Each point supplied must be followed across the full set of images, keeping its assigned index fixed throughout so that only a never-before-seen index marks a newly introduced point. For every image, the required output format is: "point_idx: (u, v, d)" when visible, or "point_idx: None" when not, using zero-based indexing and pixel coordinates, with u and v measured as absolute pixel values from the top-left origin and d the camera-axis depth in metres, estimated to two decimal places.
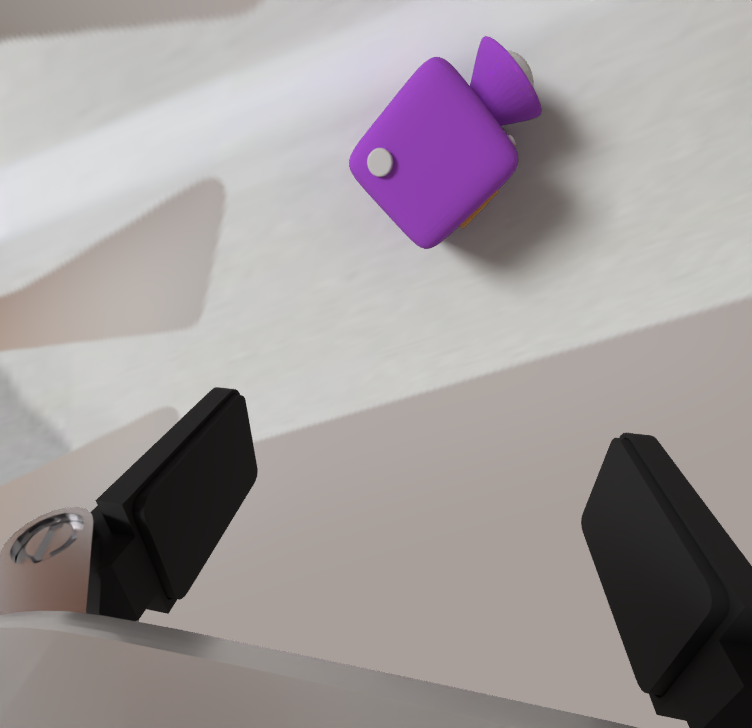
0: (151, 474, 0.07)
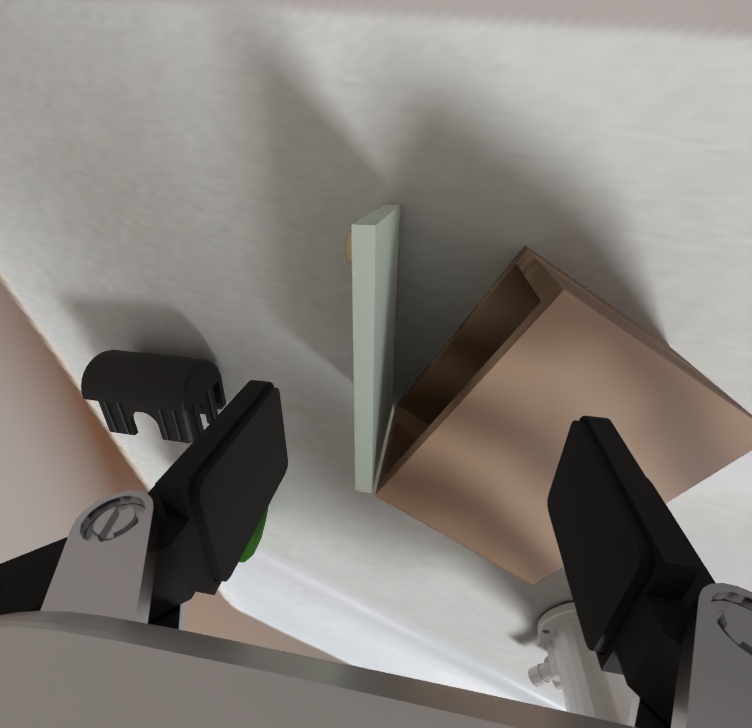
0: (203, 460, 0.07)
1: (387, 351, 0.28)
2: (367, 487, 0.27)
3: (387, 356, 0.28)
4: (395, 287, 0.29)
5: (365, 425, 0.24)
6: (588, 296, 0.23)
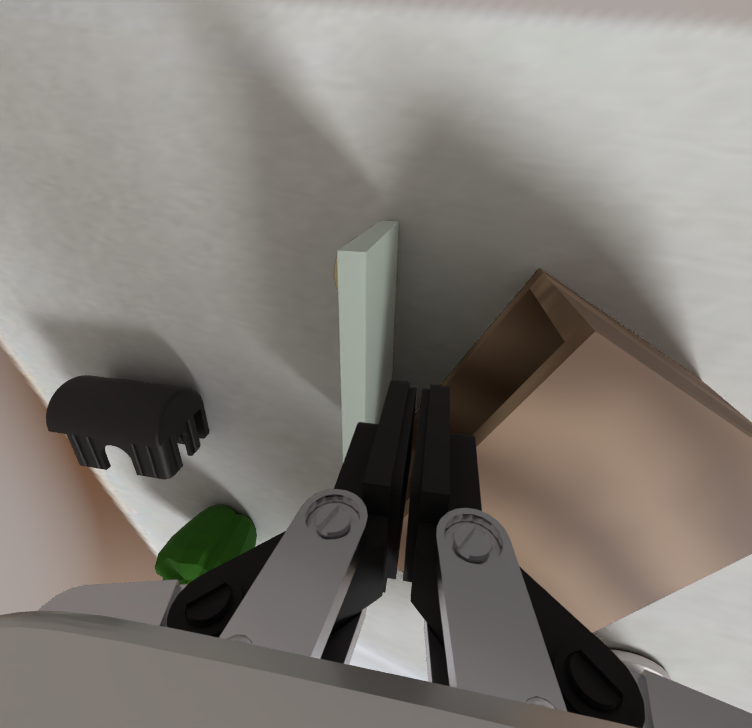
0: (394, 459, 0.07)
1: (383, 385, 0.25)
2: None
3: (383, 391, 0.25)
4: (393, 312, 0.26)
5: None
6: (616, 330, 0.20)
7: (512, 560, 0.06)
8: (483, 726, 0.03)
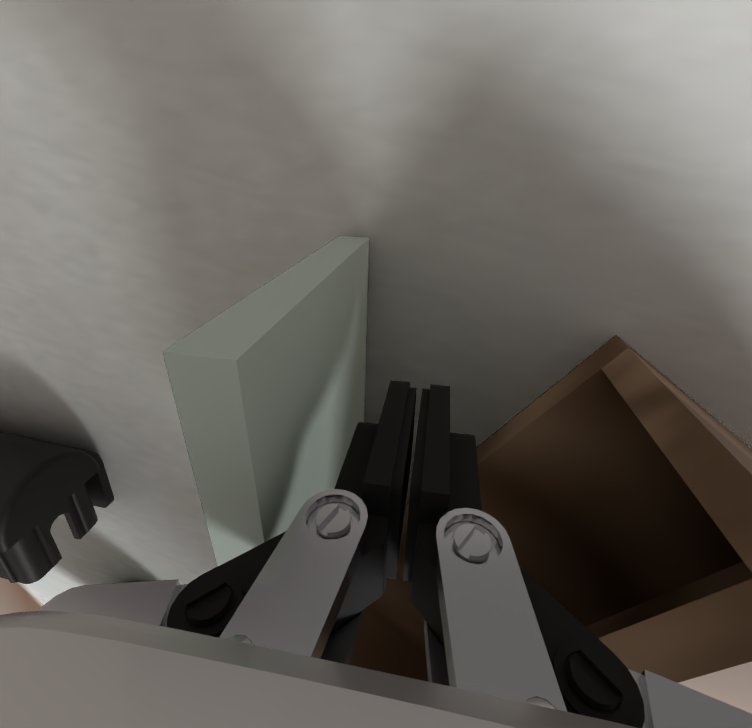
0: (395, 459, 0.07)
1: None
2: None
3: None
4: (360, 379, 0.17)
5: None
6: None
7: (512, 560, 0.06)
8: (483, 726, 0.03)
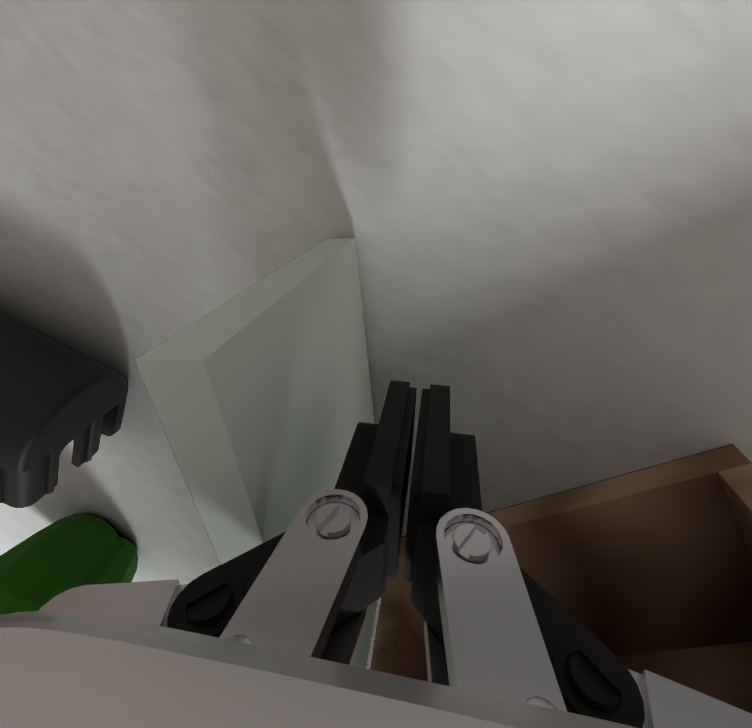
0: (395, 459, 0.07)
1: None
2: None
3: None
4: (364, 379, 0.17)
5: None
6: None
7: (512, 560, 0.06)
8: (483, 726, 0.03)
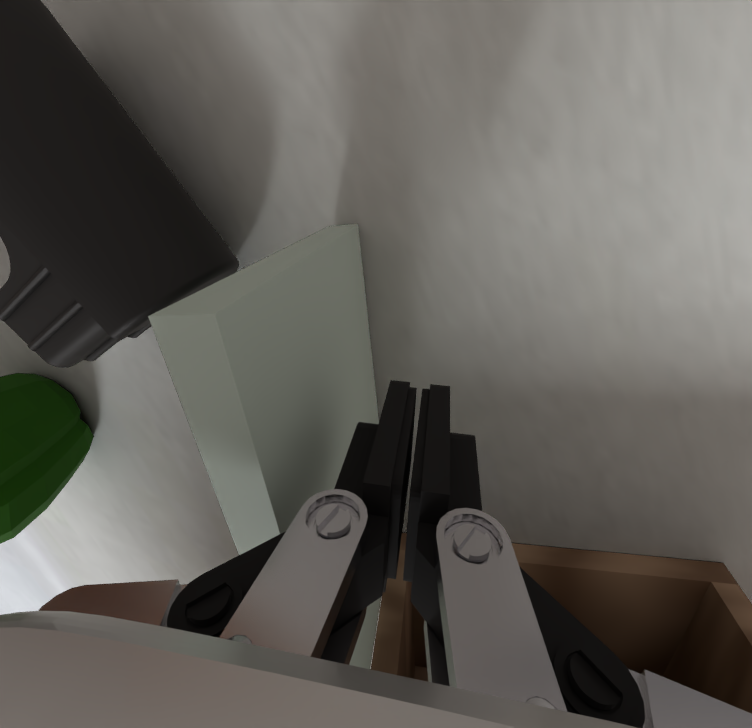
0: (395, 459, 0.07)
1: None
2: None
3: None
4: (367, 366, 0.17)
5: None
6: None
7: (512, 560, 0.06)
8: (483, 726, 0.03)
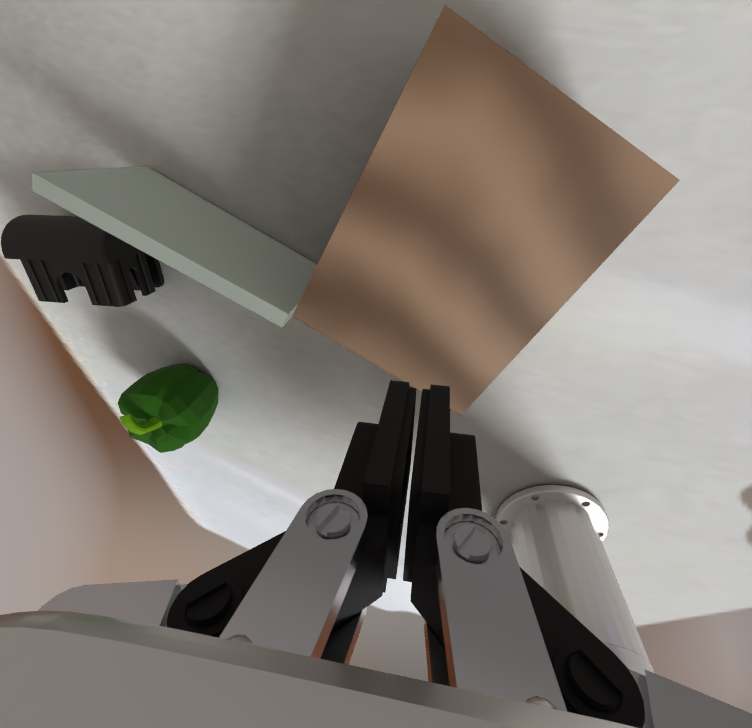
0: (394, 459, 0.07)
1: (222, 234, 0.30)
2: (280, 314, 0.26)
3: (228, 237, 0.30)
4: (201, 203, 0.33)
5: (207, 276, 0.25)
6: None
7: (512, 560, 0.06)
8: (483, 726, 0.03)
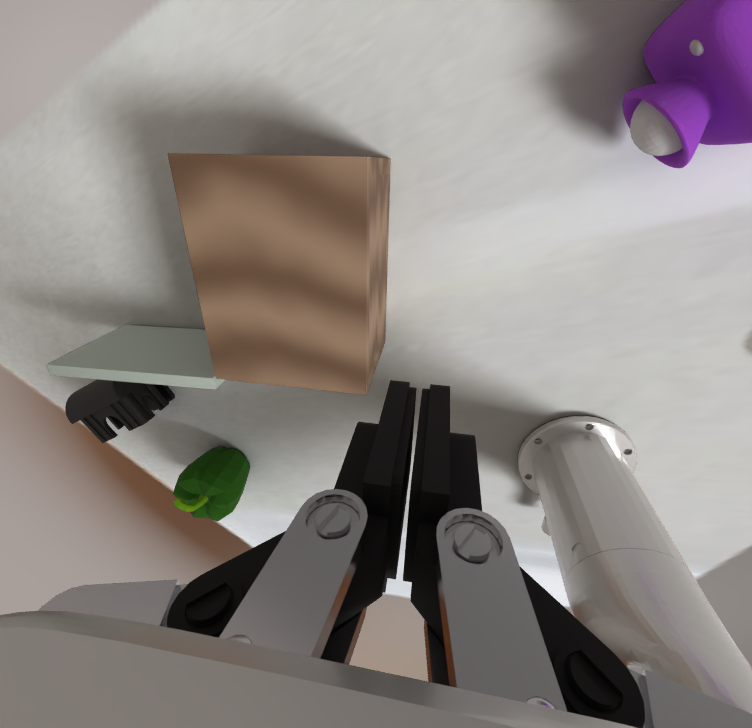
0: (394, 459, 0.07)
1: (173, 345, 0.41)
2: (208, 381, 0.35)
3: (177, 344, 0.41)
4: (162, 330, 0.45)
5: (156, 378, 0.36)
6: None
7: (512, 560, 0.06)
8: (483, 726, 0.03)
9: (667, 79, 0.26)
